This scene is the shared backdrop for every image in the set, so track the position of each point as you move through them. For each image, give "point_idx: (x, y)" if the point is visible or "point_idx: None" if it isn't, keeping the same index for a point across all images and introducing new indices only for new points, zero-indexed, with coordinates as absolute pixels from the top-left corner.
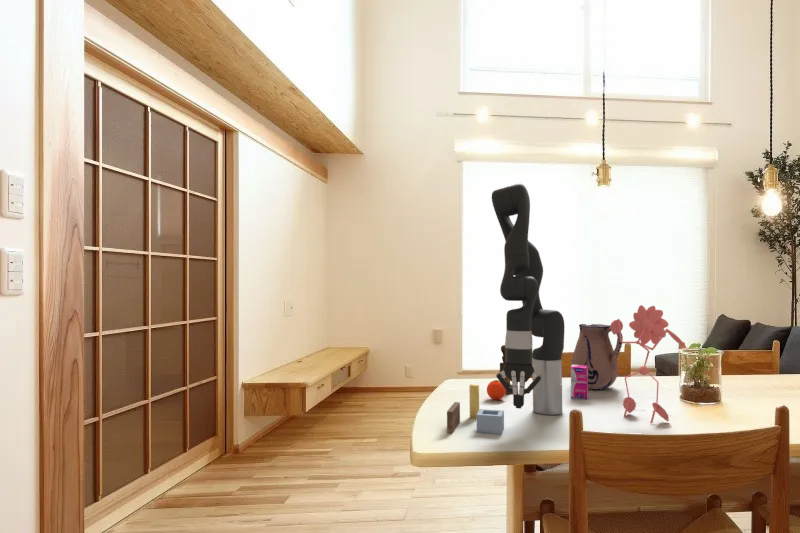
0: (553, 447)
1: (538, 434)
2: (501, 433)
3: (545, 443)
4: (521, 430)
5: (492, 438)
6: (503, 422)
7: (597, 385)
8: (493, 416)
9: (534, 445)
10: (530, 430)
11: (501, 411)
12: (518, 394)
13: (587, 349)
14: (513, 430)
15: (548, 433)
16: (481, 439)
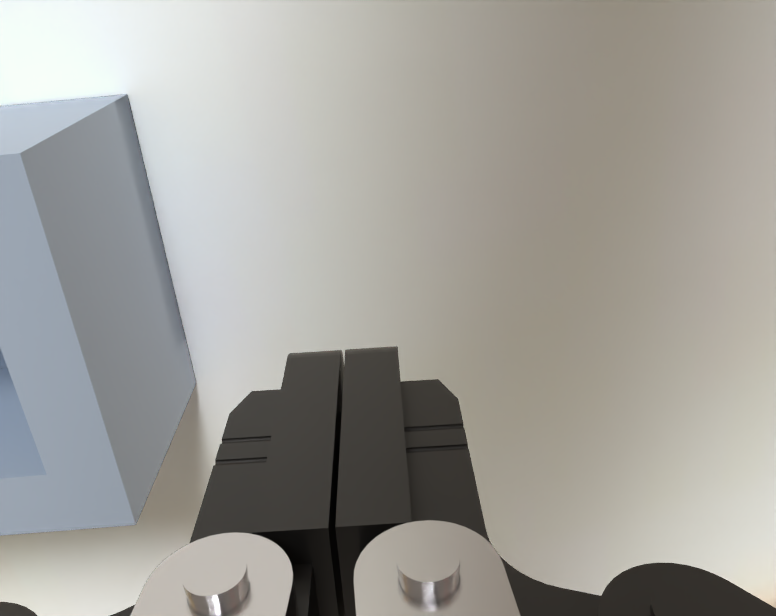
0: (723, 577)
1: (598, 243)
2: (190, 387)
3: (660, 505)
4: (377, 142)
5: (153, 523)
6: (116, 194)
7: None
8: (21, 526)
9: (560, 579)
10: (493, 99)
11: (15, 253)
12: (330, 594)
13: None
14: (279, 178)
15: (724, 158)
16: (72, 575)
